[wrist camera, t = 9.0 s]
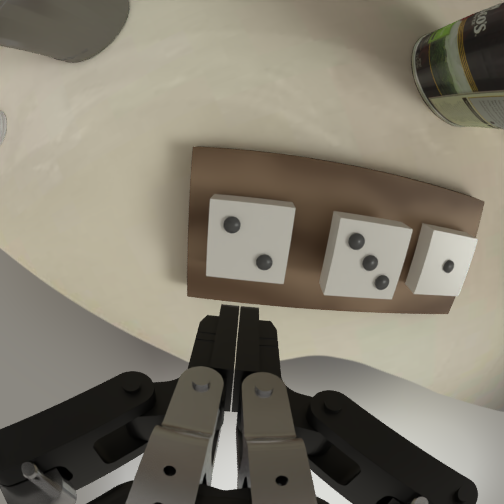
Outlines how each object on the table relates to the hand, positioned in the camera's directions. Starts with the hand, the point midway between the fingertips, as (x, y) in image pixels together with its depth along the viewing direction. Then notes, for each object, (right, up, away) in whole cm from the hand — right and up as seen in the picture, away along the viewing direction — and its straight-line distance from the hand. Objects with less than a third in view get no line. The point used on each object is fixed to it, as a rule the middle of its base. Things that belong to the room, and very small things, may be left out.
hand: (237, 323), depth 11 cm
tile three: (+9, +3, +10) cm, 14 cm away
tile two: (0, +4, +11) cm, 12 cm away
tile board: (+9, +4, +13) cm, 17 cm away
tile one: (+18, +2, +11) cm, 22 cm away
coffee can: (+20, +20, +7) cm, 29 cm away
